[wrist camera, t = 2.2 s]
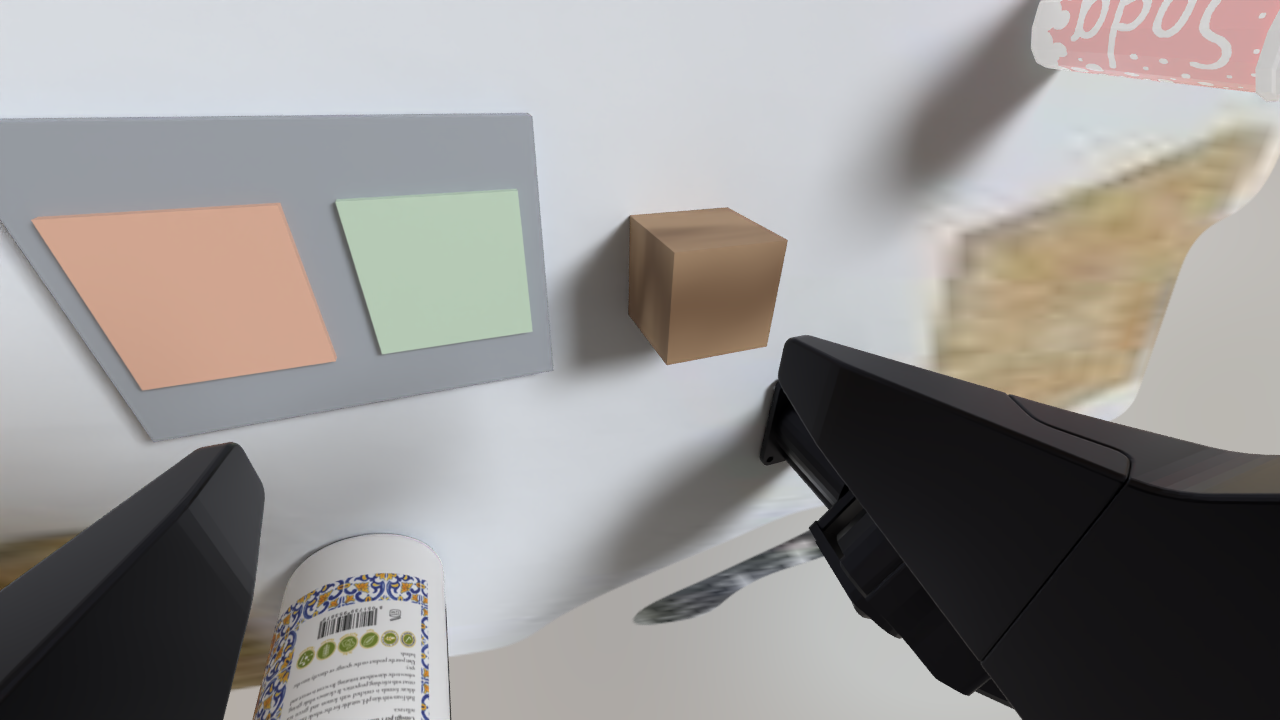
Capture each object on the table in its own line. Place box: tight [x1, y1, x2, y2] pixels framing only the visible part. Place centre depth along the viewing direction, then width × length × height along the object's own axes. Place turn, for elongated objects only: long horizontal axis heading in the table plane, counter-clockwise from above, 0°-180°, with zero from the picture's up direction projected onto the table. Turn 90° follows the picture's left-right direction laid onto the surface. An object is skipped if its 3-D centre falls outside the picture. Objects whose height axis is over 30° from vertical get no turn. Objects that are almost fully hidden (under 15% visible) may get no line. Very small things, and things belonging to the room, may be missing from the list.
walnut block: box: [628, 207, 788, 365], centre depth 20 cm, size 4×4×4 cm
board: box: [0, 113, 553, 442], centre depth 16 cm, size 10×14×1 cm
